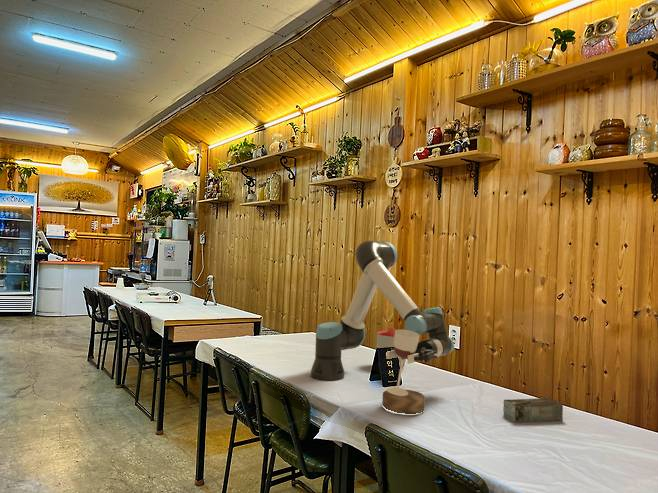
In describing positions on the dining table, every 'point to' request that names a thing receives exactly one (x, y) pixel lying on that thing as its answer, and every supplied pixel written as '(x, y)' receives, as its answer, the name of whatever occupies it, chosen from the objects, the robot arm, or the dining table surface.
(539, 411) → the weathered grey-green block
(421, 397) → the walnut stand
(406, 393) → the wineglass
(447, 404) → the dining table surface
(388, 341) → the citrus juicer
